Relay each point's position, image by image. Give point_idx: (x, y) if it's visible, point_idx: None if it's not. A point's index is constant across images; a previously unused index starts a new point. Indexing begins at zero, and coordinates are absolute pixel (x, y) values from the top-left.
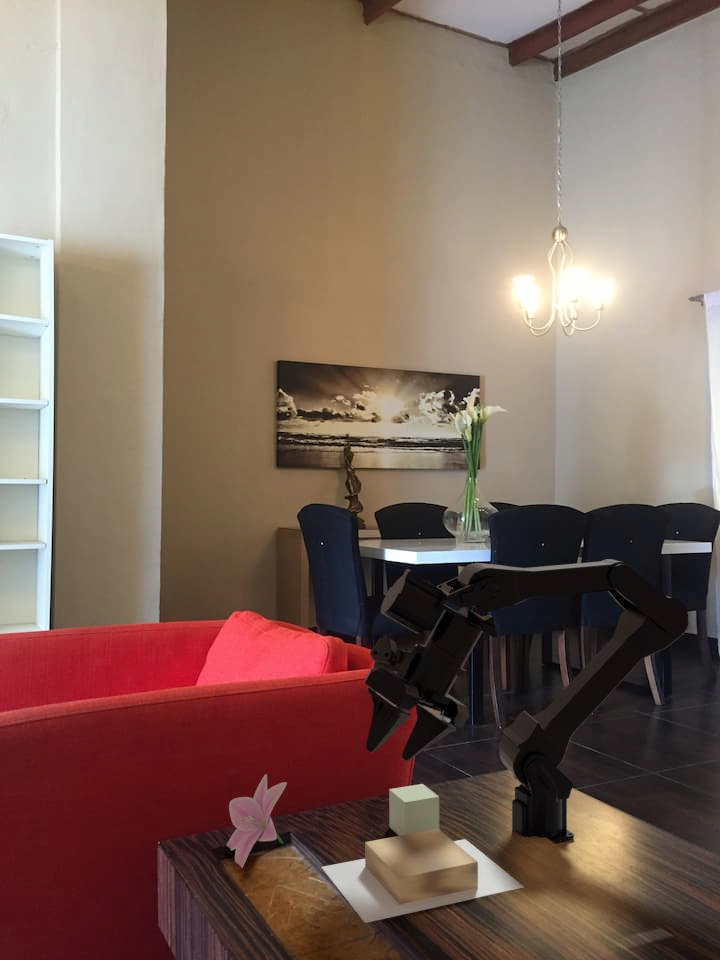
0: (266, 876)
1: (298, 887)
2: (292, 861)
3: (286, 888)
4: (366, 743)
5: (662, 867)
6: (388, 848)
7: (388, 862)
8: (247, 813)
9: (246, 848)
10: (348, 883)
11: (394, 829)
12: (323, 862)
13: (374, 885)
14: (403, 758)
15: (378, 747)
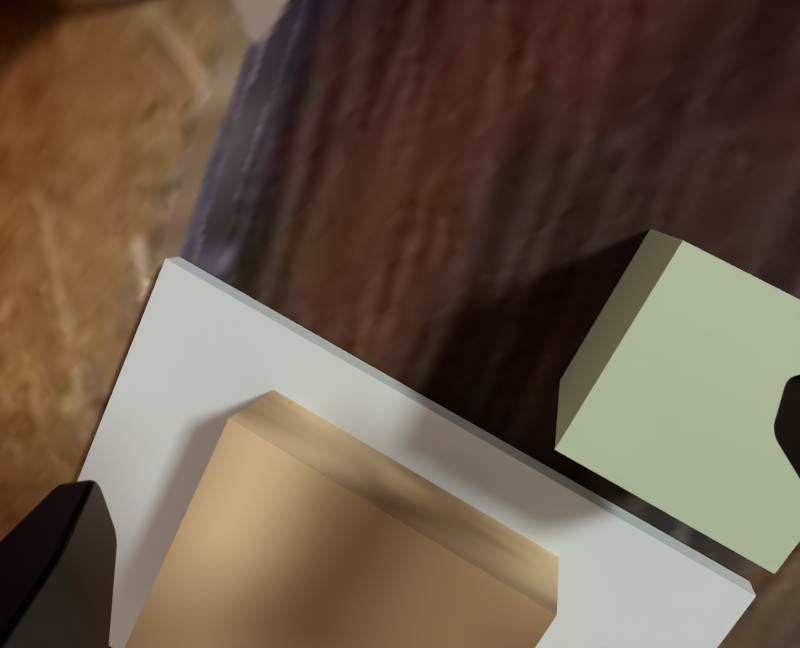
0: (43, 114)
1: (69, 262)
2: (172, 95)
3: (40, 235)
4: (34, 508)
5: None
6: (248, 533)
7: (164, 594)
8: None
9: None
10: (148, 418)
11: (622, 285)
12: (244, 198)
13: None
14: (783, 397)
15: (107, 628)
